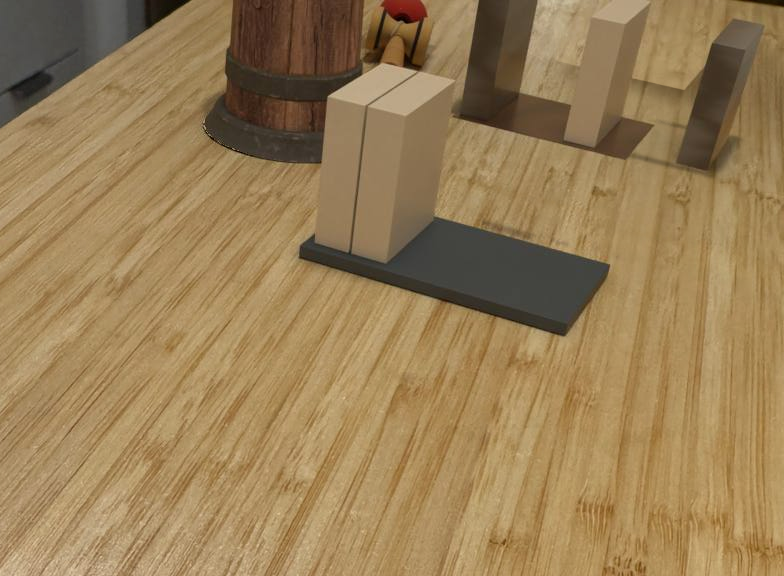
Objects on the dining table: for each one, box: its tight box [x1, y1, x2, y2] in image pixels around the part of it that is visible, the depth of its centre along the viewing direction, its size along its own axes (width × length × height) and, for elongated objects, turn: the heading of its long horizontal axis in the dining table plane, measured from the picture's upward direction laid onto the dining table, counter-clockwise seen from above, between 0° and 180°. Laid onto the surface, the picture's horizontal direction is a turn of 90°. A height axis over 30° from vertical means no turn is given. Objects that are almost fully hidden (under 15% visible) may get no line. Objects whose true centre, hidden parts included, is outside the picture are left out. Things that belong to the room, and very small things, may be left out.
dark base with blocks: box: [298, 63, 611, 336], centre depth 87 cm, size 22×12×12 cm, turn 63°
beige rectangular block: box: [563, 0, 652, 148], centre depth 111 cm, size 3×10×11 cm, turn 153°
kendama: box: [364, 0, 435, 68], centre depth 126 cm, size 8×6×18 cm
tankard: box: [204, 0, 365, 164], centre depth 106 cm, size 24×17×20 cm
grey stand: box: [451, 0, 765, 172], centre depth 111 cm, size 26×12×12 cm, turn 63°
